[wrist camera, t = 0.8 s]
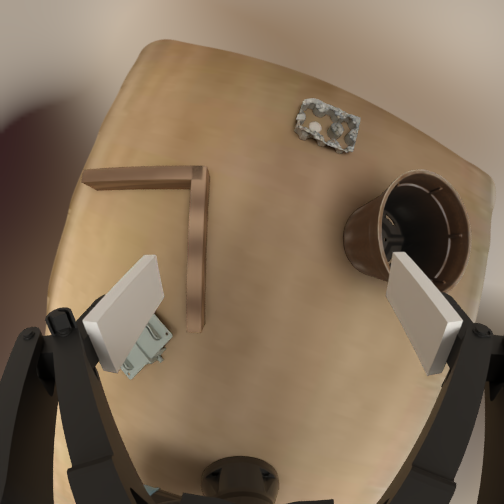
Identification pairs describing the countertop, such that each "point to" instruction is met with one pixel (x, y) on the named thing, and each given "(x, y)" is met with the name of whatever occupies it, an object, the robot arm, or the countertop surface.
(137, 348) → the metal bracket
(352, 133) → the egg carton
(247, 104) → the countertop surface
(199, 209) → the wooden corner frame
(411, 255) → the plant pot
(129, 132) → the countertop surface
